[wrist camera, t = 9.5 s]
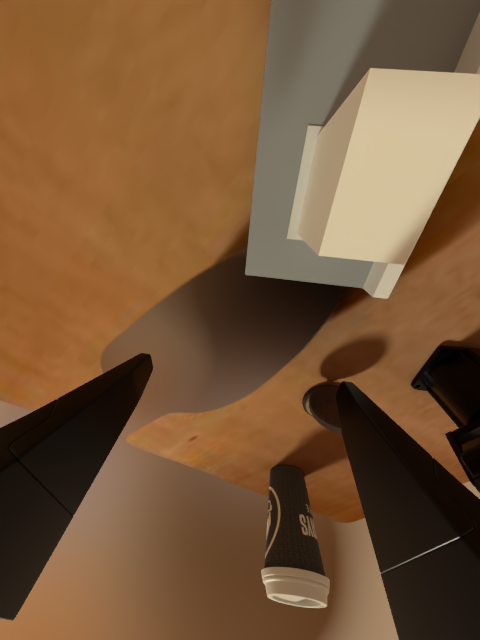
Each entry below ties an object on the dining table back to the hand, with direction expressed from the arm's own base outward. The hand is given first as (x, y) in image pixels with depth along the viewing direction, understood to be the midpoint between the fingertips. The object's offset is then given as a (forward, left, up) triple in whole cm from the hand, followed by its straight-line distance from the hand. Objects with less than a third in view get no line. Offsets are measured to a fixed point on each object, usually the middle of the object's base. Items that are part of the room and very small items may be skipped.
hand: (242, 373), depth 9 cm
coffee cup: (-39, -11, -13) cm, 43 cm away
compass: (-15, -13, -13) cm, 24 cm away
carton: (+8, -5, -11) cm, 15 cm away
